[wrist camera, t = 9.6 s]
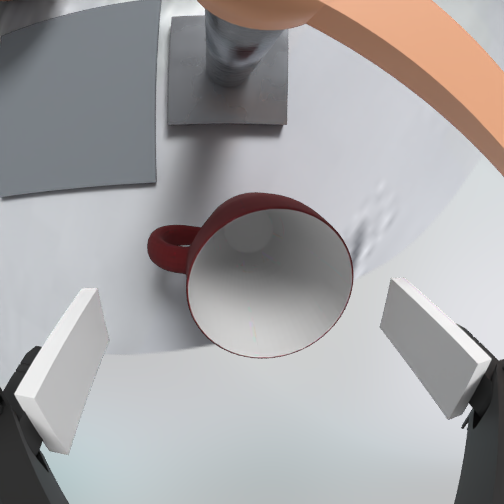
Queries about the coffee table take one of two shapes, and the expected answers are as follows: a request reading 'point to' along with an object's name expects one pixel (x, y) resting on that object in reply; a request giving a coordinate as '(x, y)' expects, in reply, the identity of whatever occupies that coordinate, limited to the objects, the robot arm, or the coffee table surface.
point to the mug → (259, 274)
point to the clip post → (226, 73)
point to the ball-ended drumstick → (401, 54)
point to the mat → (80, 100)
